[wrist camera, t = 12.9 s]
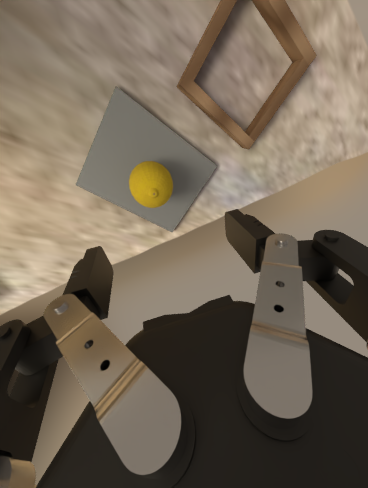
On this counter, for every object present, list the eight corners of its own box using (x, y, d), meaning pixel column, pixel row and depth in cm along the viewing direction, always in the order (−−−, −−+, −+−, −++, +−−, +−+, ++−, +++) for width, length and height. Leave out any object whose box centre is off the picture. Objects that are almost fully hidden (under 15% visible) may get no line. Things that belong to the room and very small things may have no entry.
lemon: (161, 200, 30) (169, 222, 23) (125, 189, 27) (122, 210, 21) (173, 164, 27) (185, 177, 20) (134, 150, 25) (134, 159, 18)
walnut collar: (176, 86, 23) (179, 83, 22) (242, -41, 19) (252, -57, 17) (242, 147, 29) (248, 149, 27) (304, 59, 25) (316, 55, 23)
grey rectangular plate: (77, 183, 27) (75, 184, 26) (116, 87, 22) (115, 86, 21) (171, 229, 34) (172, 232, 33) (215, 164, 29) (217, 166, 29)
